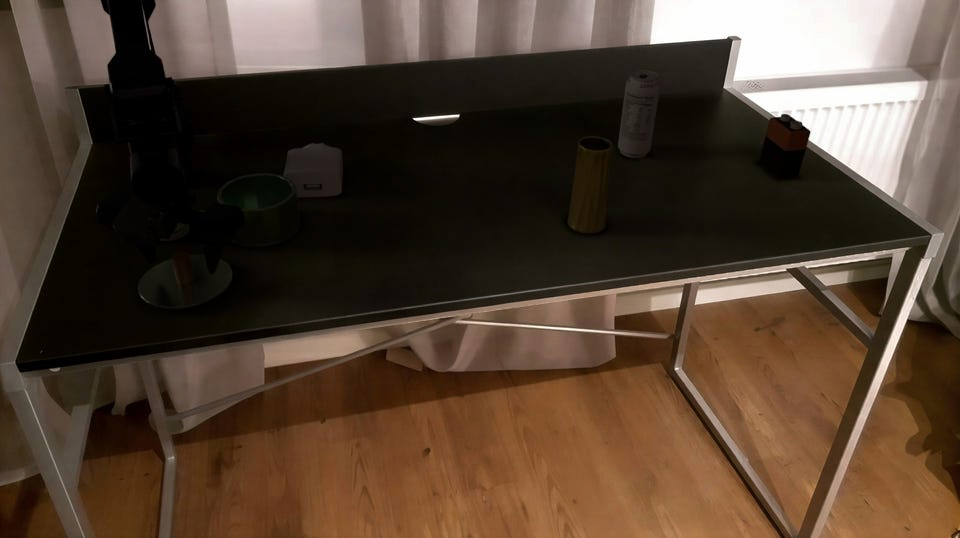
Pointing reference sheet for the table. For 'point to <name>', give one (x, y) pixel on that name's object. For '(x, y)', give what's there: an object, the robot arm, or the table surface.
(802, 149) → the battery
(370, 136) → the table surface
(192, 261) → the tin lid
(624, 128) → the energy drink can
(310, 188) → the charger
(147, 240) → the robot arm
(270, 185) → the tin
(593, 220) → the vase
